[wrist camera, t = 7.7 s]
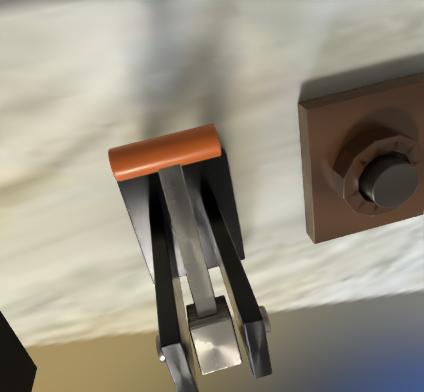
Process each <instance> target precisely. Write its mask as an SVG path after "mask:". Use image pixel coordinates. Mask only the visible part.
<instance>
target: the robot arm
mask: <svg viewBox="0 0 424 392" xmlns="http://www.w3.org/2000/svg"><path fill="white" fill-rule="evenodd" d="M36 370H37V367H36V365H35V364H34V362H33V361H32V359H31V358H30V356H29V355H28V353H27V351H26V350H25V348H24V347H23V345H22V344H21V342H20V341H19V339H18V337H17V336H16V334H15V333H14V331H13V330H12V328H11V327H10V325H9V324H8V322H7V320H6V319H5V317H4V316H3V314H2V313H1V311H0V392H31V391H32V387H33V383H34V378H35V375H36Z"/></svg>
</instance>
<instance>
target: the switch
mask: <svg viewBox="0 0 424 392" xmlns="http://www.w3.org/2000/svg"><path fill="white" fill-rule="evenodd" d="M220 155H221V147H220V142H219V137H218V134H217V131H216V128H215V126H214V124H209V125H205V126H201V127H197V128H193V129H188V130H184V131H180V132H176V133H172V134H168V135H164V136H160V137H156V138H152V139H148V140H144V141H139V142H135V143H131V144H127V145H123V146H119V147H115V148H111V149H109V151H108V156H109V161H110V165H111V169H112V172H113V174H114V177H115V179H116V180H117V181H123V180H127V179H131V178H135V177H139V176H143V175H147V174H151V173H155V172H158V173H159V177H160V180H161V184H162V188H163V191H164V195H165V199H166V202H167V206H168V210H169V213H170V217H171V221H172V224H173V228H174V232H175V235H176V239H177V243H178V246H179V250H180V254H181V257H182V261H183V265H184V268H185V272H186V276H187V279H188V283H189V287H190V290H191V294H192V298H193V301H194V304H190V305H187V306H186V309H187V317H188V325H189V331H190V335H191V339H192V342H193V346H194V349H195V353H196V356H197V360H198V363H199V367H200V370H201V373H202V374H203V375H204V374H208V373H211V372H215V371H218V370H222V369H225V368H228V367H232V366H235V365H239V364H242V358H241V354H240V350H239V346H238V342H237V337H236V334H235V330H234V325H233V321H232V317H231V314H230V311H229V308H228V305H227V302H226V299H225V296H224V295H222V296H219V297H215V296H214V292H213V288H212V284H211V280H210V276H209V272H208V268H207V264H206V260H205V256H204V253H203V249H202V245H201V241H200V237H199V233H198V229H197V225H196V221H195V217H194V213H193V209H192V206H191V202H190V198H189V194H188V190H187V186H186V182H185V178H184V174H183V170H182V166H183V165H187V164H191V163H195V162H199V161H202V160H206V159H210V158H214V157H218V156H220Z"/></svg>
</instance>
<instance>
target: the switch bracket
mask: <svg viewBox="0 0 424 392" xmlns="http://www.w3.org/2000/svg"><path fill="white" fill-rule="evenodd" d="M182 170H183V174H184V178H185V182H186V186H187V190H188V194H189V198H190V202H191V206H192V209H193V213H194V217H195V221H196V225H197V229H198V233H199V237H200V241H201V245H202V249H203V253H204V256H205V260H206V264H207V268H208V269H210V268H214V267H217V266H219V268H220V271H221V274H222V277H223V280H224V284H225V287H226V290H227V293H228V296H229V299H230V303H231V306H232V309H233V312H234V315H235V318H236V322H237V325H238V328H239V331H240V334H241V337H242V340H243V344H244V347H245V350H246V353H247V356H248V360H249V362H250V366H251V369H252V372H253V375H254V378H255V379H257V378H260V377H264V376H267V375H271V374H272V368H271V362H270V356H269V350H268V345H267V339H266V333H268V332H270V331H271V327H270V322H269V318H268V315H267V312H266V310H265V308H264V306H258V304H257V301H256V299H255V296H254V294H253V291H252V289H251V286H250V284H249V281H248V279H247V276H246V274H245V271H244V269H243V266H242V264H241V261H240V260H243V259H245V255H244V249H243V244H242V238H241V233H240V227H239V222H238V216H237V211H236V205H235V199H234V194H233V188H232V183H231V177H230V172H229V166H228V161H227V155H226V153H225V151H224V149H223V148H221V155H220V156H218V157H214V158H210V159H206V160H202V161H199V162H195V163H191V164H187V165H183V166H182ZM117 183H118V186H119V188H120V191H121V194H122V197H123V200H124V202H125V205H126V208H127V211H128V214H129V216H130V219H131V222H132V225H133V228H134V230H135V233H136V236H137V239H138V242H139V244H140V247H141V250H142V253H143V255H144V258H145V261H146V264H147V267H148V269H149V272H150V275H151V278H152V281H153V283H154V284H155V291H156V303H157V315H158V327H159V335H157V336H156V347H157V352H158V355H159V359H160V361H161V362H162V363H163V362H166V363H167V366H168V369H169V371H170V374H171V376H172V379H173V381H174V384H175V386H176V389H177V391H178V392H199V390H198V384H197V378H196V372H195V366H194V360H193V355H192V349H191V343H190V337H189V331H188V325H187V319H186V313H185V307H184V302H183V296H182V290H181V284H180V278H179V277H181V276H184V275H186V272H185V268H184V265H183V261H182V257H181V254H180V250H179V246H178V243H177V239H176V235H175V232H174V228H173V224H172V221H171V217H170V213H169V210H168V206H167V202H166V199H165V195H164V191H163V188H162V184H161V180H160V177H159V173H158V172H155V173H151V174H147V175H143V176H139V177H135V178H131V179H127V180H123V181H117Z"/></svg>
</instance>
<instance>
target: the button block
mask: <svg viewBox="0 0 424 392" xmlns="http://www.w3.org/2000/svg"><path fill="white" fill-rule="evenodd" d="M298 112H299V126H300V141H301V155H302V170H303V184H304V199H305V214H306V228H307V234H308V235H309V237H310V238H311V240H312V241H313V242H314V244H317V243H320V242H324V241H328V240H331V239H335V238H339V237H342V236H346V235H350V234H353V233H357V232H361V231H364V230H368V229H372V228H375V227H379V226H383V225H386V224H390V223H394V222H397V221H401V220H405V219H408V218H412V217H416V216H419V215H423V213H424V72H423V73H419V74H415V75H411V76H407V77H402V78H398V79H394V80H390V81H386V82H382V83H378V84H374V85H370V86H366V87H362V88H358V89H354V90H349V91H345V92H341V93H337V94H333V95H329V96H325V97H321V98H317V99H313V100H309V101H305V102H300V103H298ZM386 154H393V155H397V156H399V157H400V158H402V159H403V160H405V161H407V162H408V163H410V164H411V165H413V166H414V167H415V168H416V169H417V171H418V174H419V183H418V186H417V189H416V191H415V192H414V194H413V195H412V196H411V197H410V198H409V199H408V200H407V201H406V202H404V203H403V204H401V205H399V206H396V207H393V208H383V207H380V206H378V205H377V204H375V203H374V202H373V201H372V200H371V199H370V198H369V197H368V196H367V195H365V194H364V193H363V191H362V189H361V186H360V179H361V175H362V173H363V171H364V169H365V168H366V166H367V165H368V164H369V163H370V162H371V161H372V160H374V159H375V158H377V157H379V156H382V155H386Z"/></svg>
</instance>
